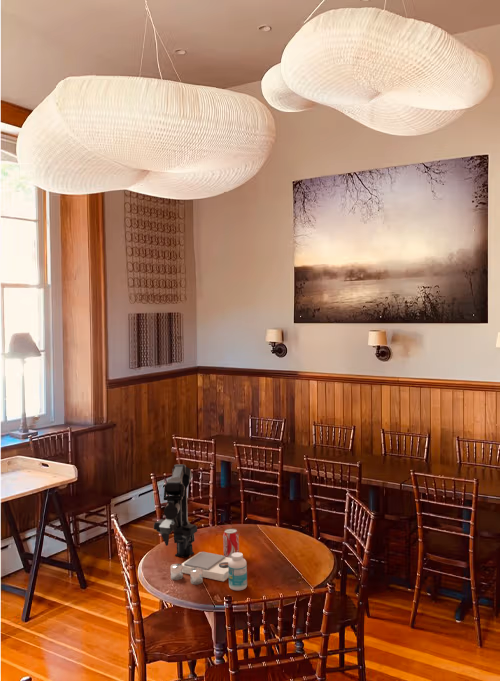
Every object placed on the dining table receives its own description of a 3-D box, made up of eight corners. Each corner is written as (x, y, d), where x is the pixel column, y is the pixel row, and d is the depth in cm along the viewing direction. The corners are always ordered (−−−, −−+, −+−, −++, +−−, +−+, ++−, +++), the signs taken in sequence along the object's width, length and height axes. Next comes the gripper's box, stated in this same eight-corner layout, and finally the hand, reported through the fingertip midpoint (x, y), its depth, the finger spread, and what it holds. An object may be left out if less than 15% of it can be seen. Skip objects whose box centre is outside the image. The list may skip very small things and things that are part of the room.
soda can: (237, 560, 275) (236, 533, 274) (221, 559, 276) (221, 533, 275) (240, 553, 281) (239, 528, 281) (225, 553, 283) (224, 527, 282)
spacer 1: (168, 578, 257) (168, 567, 257) (175, 574, 261) (174, 562, 261) (178, 581, 254) (177, 569, 254) (185, 576, 259) (184, 564, 259)
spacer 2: (188, 583, 252) (187, 571, 252) (194, 578, 256) (194, 566, 256) (198, 585, 250) (198, 573, 250) (205, 580, 254) (204, 568, 254)
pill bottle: (228, 583, 251) (227, 551, 250) (246, 582, 251) (245, 550, 251) (229, 591, 243) (228, 558, 243) (247, 590, 244) (247, 557, 243)
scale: (179, 572, 263) (179, 563, 263) (199, 558, 277) (199, 550, 277) (223, 581, 253) (223, 572, 253) (242, 566, 267) (241, 558, 267)
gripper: (145, 513, 254) (146, 550, 255) (182, 519, 245) (183, 557, 246) (161, 505, 264) (162, 541, 264) (197, 511, 255) (198, 548, 256)
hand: (175, 547), depth 257 cm, fingers open, 9 cm apart
